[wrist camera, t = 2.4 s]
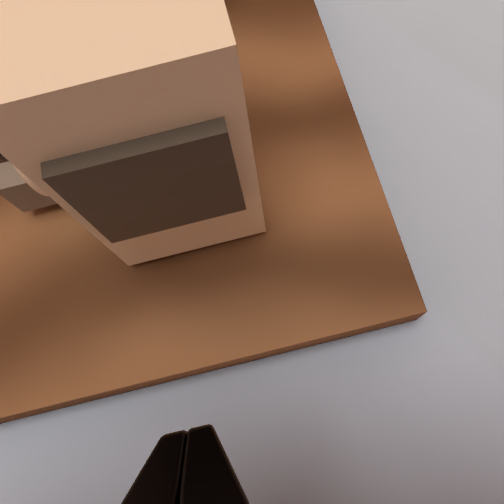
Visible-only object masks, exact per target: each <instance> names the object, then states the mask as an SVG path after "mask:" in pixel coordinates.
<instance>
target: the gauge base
mask: <svg viewBox="0 0 504 504" xmlns="http://www.w3.org/2000/svg"><path fill="white" fill-rule="evenodd" d="M224 2H225V6H226V9H227V13H228V16H229V20H230V24H231V27H232V31H233V34H234V38H235V41H236V45H237V51H238V58H239V64H240V70H241V76H242V83H243V89H244V95H245V102H246V108H247V114H248V120H249V127H250V133H251V139H252V146H253V152H254V158H255V164H256V171H257V177H258V183H259V189H260V196H261V202H262V208H263V215H264V221H265V227H266V232H262V233H258V234H254V235H250V236H246V237H242V238H238V239H234V240H230V241H226V242H222V243H218V244H214V245H210V246H206V247H202V248H198V249H194V250H190V251H186V252H182V253H178V254H174V255H170V256H166V257H162V258H158V259H154V260H150V261H146V262H142V263H138V264H134V265H130V266H128V265H127V264H126V263H125V262H124V261H122V260H121V259H120V258H119V257H118V256H117V255H116V254H114V253H113V252H112V251H111V250H110V249H109V248H108V247H106V246H105V245H104V244H103V243H102V242H101V241H100V240H98V239H97V238H96V237H95V236H94V235H93V234H92V233H91V232H89V231H88V230H87V229H86V228H85V227H84V226H83V225H81V224H80V223H79V222H78V221H77V220H76V219H75V218H73V217H72V216H71V215H70V214H69V213H68V212H67V211H65V210H64V209H63V208H62V207H61V206H60V205H59V204H55V205H51V206H47V207H43V208H39V209H35V210H31V211H27V212H23V211H21V210H20V209H19V208H17V207H16V206H15V205H13V204H12V203H10V202H9V201H8V200H6V199H5V198H4V197H2V196H1V195H0V423H4V422H8V421H12V420H16V419H20V418H24V417H28V416H32V415H36V414H40V413H44V412H48V411H52V410H56V409H60V408H64V407H68V406H72V405H76V404H80V403H84V402H88V401H92V400H96V399H100V398H104V397H108V396H112V395H116V394H120V393H124V392H129V391H133V390H137V389H141V388H145V387H149V386H153V385H157V384H161V383H165V382H169V381H173V380H177V379H181V378H185V377H189V376H193V375H197V374H201V373H205V372H209V371H213V370H217V369H221V368H225V367H229V366H233V365H237V364H241V363H245V362H249V361H253V360H257V359H261V358H265V357H269V356H273V355H277V354H281V353H285V352H289V351H293V350H297V349H301V348H305V347H309V346H313V345H317V344H321V343H325V342H329V341H333V340H337V339H341V338H345V337H349V336H353V335H357V334H361V333H365V332H369V331H373V330H377V329H381V328H385V327H389V326H393V325H397V324H401V323H405V322H409V321H413V320H417V319H418V318H419V317H420V316H422V315H423V314H424V313H426V312H427V310H426V307H425V304H424V302H423V299H422V296H421V293H420V291H419V288H418V285H417V282H416V280H415V277H414V274H413V271H412V269H411V266H410V263H409V260H408V258H407V255H406V252H405V250H404V247H403V244H402V241H401V239H400V236H399V233H398V230H397V228H396V225H395V222H394V219H393V217H392V214H391V211H390V208H389V206H388V203H387V200H386V197H385V195H384V192H383V189H382V186H381V184H380V181H379V178H378V176H377V173H376V170H375V167H374V165H373V162H372V159H371V156H370V154H369V151H368V148H367V145H366V143H365V140H364V137H363V134H362V132H361V129H360V126H359V123H358V121H357V118H356V115H355V112H354V110H353V107H352V104H351V101H350V99H349V96H348V93H347V91H346V88H345V85H344V82H343V80H342V77H341V74H340V71H339V69H338V66H337V63H336V60H335V58H334V55H333V52H332V49H331V47H330V44H329V41H328V38H327V36H326V33H325V30H324V27H323V25H322V22H321V19H320V16H319V14H318V11H317V8H316V6H315V3H314V0H224Z"/></svg>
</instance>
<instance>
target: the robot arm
mask: <svg viewBox="0 0 504 504" xmlns="http://www.w3.org/2000/svg"><path fill="white" fill-rule="evenodd" d="M121 504H249V501H248V499H247V497H246V495H245V493H244V491H243V489H242V487H241V485H240V482H239V480H238V478H237V476H236V474H235V472H234V470H233V468H232V465H231V463H230V461H229V459H228V457H227V455H226V453H225V451H224V448H223V446H222V444H221V442H220V440H219V438H218V436H217V434H216V431H215V429H214V427H213V426H212V425H210V424H208V425H204V426H199V427H195V428H191V429H190V430H189V431H188V432H187V431H184V430H182V431H178V432H174V433H169V434H165V435H163V436H162V437H161V438H160V440H159V441H158V443H157V445H156V446H155V448H154V450H153V451H152V453H151V455H150V456H149V458H148V460H147V461H146V463H145V465H144V466H143V468H142V470H141V471H140V473H139V475H138V476H137V478H136V480H135V482H134V483H133V485H132V487H131V488H130V490H129V492H128V493H127V495H126V497H125V498H124V500H123V502H122V503H121Z"/></svg>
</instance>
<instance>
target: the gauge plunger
mask: <svg viewBox="0 0 504 504" xmlns="http://www.w3.org/2000/svg"><path fill="white" fill-rule="evenodd" d="M0 154H2V155H3V156H4V157H5V158H6V159H7V160H8V162H4V163H0V195H1V196H2V197H4V198H5V199H6V200H8V201H9V202H10V203H12V204H13V205H15V206H16V207H17V208H19V209H20V210H21V211H23V212H27V211H31V210H35V209H39V208H43V207H47V206H51V205H55V204H59V205H60V206H61V207H62V208H63V209H64V210H65V211H67V212H68V213H69V214H70V215H71V216H72V217H73V218H75V219H76V220H77V221H78V222H79V223H80V224H81V225H83V226H84V227H85V228H86V229H87V230H88V231H89V232H91V233H92V234H93V235H94V236H95V237H96V238H97V239H98V240H100V241H101V242H102V243H103V244H104V245H105V246H106V247H108V248H109V249H110V250H111V251H112V252H113V253H114V254H116V255H117V256H118V257H119V258H120V259H121V260H122V261H124V262H125V263H126V264H127V265H128V266H130V265H134V264H138V263H142V262H146V261H150V260H154V259H158V258H162V257H166V256H170V255H174V254H178V253H182V252H186V251H190V250H194V249H198V248H202V247H206V246H210V245H214V244H218V243H222V242H226V241H230V240H234V239H238V238H242V237H246V236H250V235H254V234H258V233H262V232H266V227H265V221H264V215H263V208H262V202H261V196H260V189H259V183H258V177H257V171H256V164H255V158H254V152H253V146H252V139H251V133H250V127H249V120H248V114H247V108H246V102H245V95H244V89H243V83H242V76H241V70H240V64H239V58H238V51H237V45H236V41H235V38H234V34H233V31H232V27H231V24H230V20H229V16H228V13H227V9H226V6H225V2H224V0H0Z"/></svg>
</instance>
